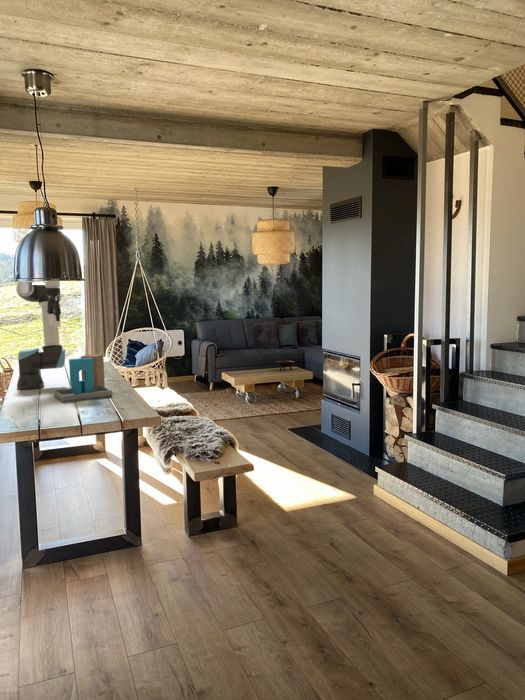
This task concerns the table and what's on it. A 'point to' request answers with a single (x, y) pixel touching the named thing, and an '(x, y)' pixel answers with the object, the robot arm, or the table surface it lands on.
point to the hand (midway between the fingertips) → (54, 326)
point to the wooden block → (96, 369)
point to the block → (88, 382)
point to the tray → (69, 396)
